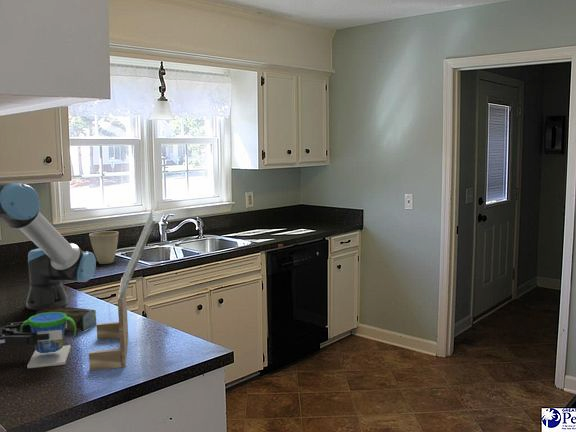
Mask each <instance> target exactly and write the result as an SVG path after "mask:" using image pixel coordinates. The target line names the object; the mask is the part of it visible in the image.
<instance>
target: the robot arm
mask: <svg viewBox="0 0 576 432" xmlns="http://www.w3.org/2000/svg"><path fill="white" fill-rule="evenodd" d="M39 198H40V197H39V194H38V192H37V191H36V190H35V188H33V187H32V186H30V185H28V184H24V183H21V182H10V183H8V182H7V183H6V182H3V183H2V182H0V220H2V221H3V222H4V223H5V224H6V225H7V226H8V227H10V228H11V229H15V230H19V231H21V232H22V233H23V234H24V235H25V236H26V237H27V238H28V239H29V240H30V241H31V242H33V244H34V245H35V246H36V247H37V248H35V249H31V250H30V251H28V253H27V266H28V278H29V290H28V294H27V298H26V301H25V303H26V305H25V306H26V307H25V308H26V309H27V310H31V311H40V310H42V309H43V308H46V307H48V306H61V307H66V305H67V304H69V303H68V302H69V301H68V296H67V293H66V290H65V288H64V286H63V282H64V281H66V282H77V283H86V282H88V281H90V280H91V279H92V277H94V274H95V271H96V267H97V265H96V264H97V263H96V262H97V258H96V256H95V253H94V252H90V251H87V250H86V251H84V250H82V249H81V248H80V247H79V246H78V245H77V244H75V243H73V242H68V240H67V239H66V238H65V237H64V236H63V235H62V234H61V233H60V232H59V231H58V230H57V229H56V228H55V227H54V226H53V224H52V223H51V222H50V221H49V220H48V219H47V218H46V217H45V216H44V215H43V214H42V212H40V209H41V207H40V206H41V201H40V200H39ZM25 321H26V320H24V321H19V322H7V324H6V325H4V326H1V327H0V347H3V346H35V345H37V341H49V340H60V339H62V330H51V331H39V332H37V333H32V332H31V328H30V325H29V324H28V323H26V324H25V325H24V326H23V328H22V331H23V332H20V328H21V326H22V324H23V323H24V322H25ZM65 328H67V321H66V326H65Z"/></svg>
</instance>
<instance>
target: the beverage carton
mask: <svg viewBox="0 0 576 432" xmlns="http://www.w3.org/2000/svg"><path fill="white" fill-rule="evenodd" d="M47 312H61V313H65V314H66V315H67V316H68V317H70V318H72V319H73V320H74V322H75V324H76V332H79V331H85V330H87V329H88V330H90V329H92V328H94V327H95V325H97V315H96V314H97V312H96V310H95V309H90V308H88V309H87V308H81V307H79V308H78V307H69V306H62V307H61V306H48V307H46V308H43V309H42V310H36V313H35V315H36V314H41V313H47ZM93 326H94V327H93ZM91 327H92V328H91ZM89 328H90V329H89ZM67 330H71V331H70V332H74V326H73V325H72V323H71V322H70V321H69V320H67V328H65V331H67ZM88 330H87V331H88ZM85 332H86V331H85Z"/></svg>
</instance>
